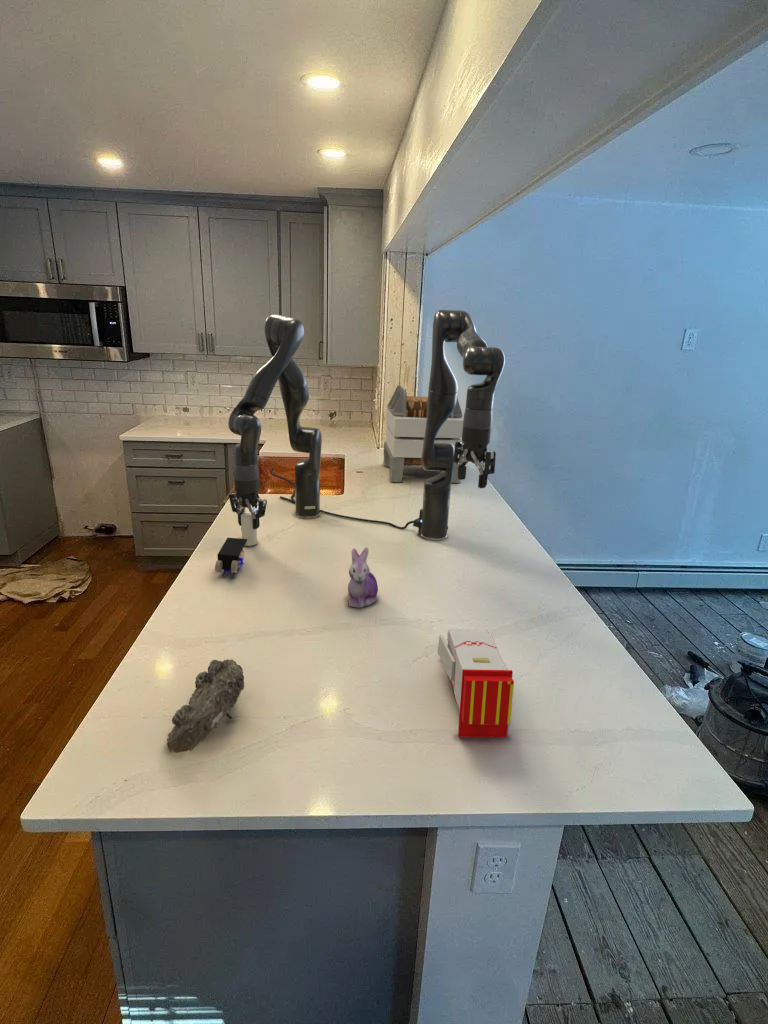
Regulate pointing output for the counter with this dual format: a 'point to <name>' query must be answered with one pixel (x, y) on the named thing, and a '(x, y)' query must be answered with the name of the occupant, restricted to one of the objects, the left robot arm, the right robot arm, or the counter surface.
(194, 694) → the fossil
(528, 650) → the counter surface
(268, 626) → the counter surface
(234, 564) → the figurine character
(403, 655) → the counter surface
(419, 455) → the grey slatted box
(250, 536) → the canister
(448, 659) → the toy
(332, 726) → the counter surface
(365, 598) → the figurine
